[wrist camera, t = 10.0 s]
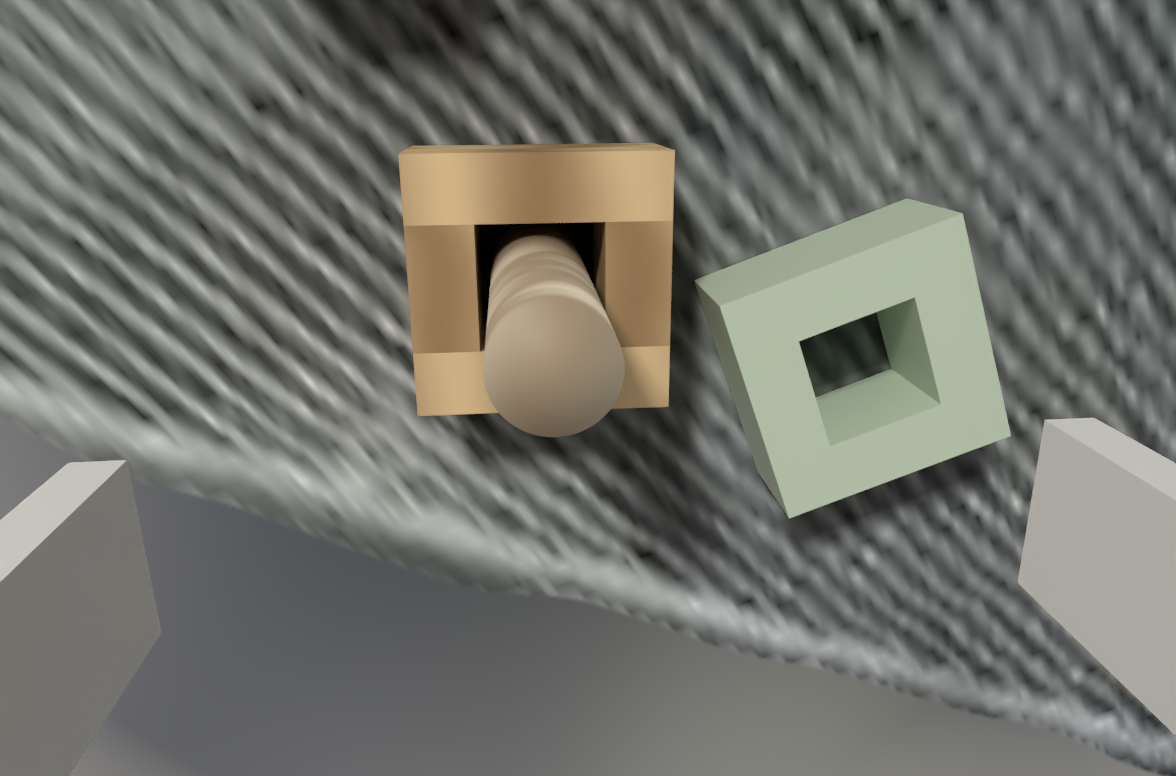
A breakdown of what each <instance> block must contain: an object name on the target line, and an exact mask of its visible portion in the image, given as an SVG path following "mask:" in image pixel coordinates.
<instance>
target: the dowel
mask: <svg viewBox="0 0 1176 776" xmlns="http://www.w3.org/2000/svg"><path fill="white" fill-rule="evenodd" d="M624 373H625V364H624V357H623V352H622V349H621V346H620V343H619V341H618V339H617V336H616V334H615V332H614V330H613V328H612V325H611V323H610V321H609V319H608V316H607V314H606V312H605V310H604V308H603V305H602V303H601V301H600V299H599V297H598V294H597V292H596V290H595V288H594V285H593V283H592V281H591V279H590V277H589V274H588V272H587V270H586V268H585V265H584V263H583V261H582V259H581V257H580V254H579V252H578V250H577V248H576V246H575V244H574V242H573V240H572V239H571V237H570V236H569V235H568V234H567V232H566V231H564V230H563V229H562V228H561V227H559V226H557V225H556V224H553V223H530V224H516V225H514V226H512V227H511V228H509V229H508V230H507V231H506V232H505V233H504V234H503V235H502V236H501V237H500V239H499V240H498V242H497V244H496V246H495V249H494V252H493V258H492V268H491V280H490V292H489V304H488V316H487V328H486V339H485V351H484V363H483V377H484V384H485V388H486V391H487V394H488V396H489V399H490V401H491V402H492V404H493V406H494V407H495V409H496V410H497V411H498V412H499V414H500V415H501V416H502V417H503V418H504V419H505V420H506V421H508V422H509V423H510V424H512V425H513V426H515V427H517V428H518V429H520V430H522V431H525V432H527V433H530V434H533V435H537V436H543V437H563V436H569V435H573V434H576V433H579V432H582V431H584V430H586V429H588V428H590V427H591V426H593V425H594V424H596V423H597V422H599V421H600V420H601V419H602V418H603V417H604V416H605V415H606V414H607V413H608V412H609V411H610V410H611V408H612V407H613V405H614V404H615V402H616V400H617V398H618V396H619V394H620V391H621V389H622V385H623V381H624Z"/></svg>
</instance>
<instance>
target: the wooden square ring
mask: <svg viewBox="0 0 1176 776" xmlns="http://www.w3.org/2000/svg"><path fill="white" fill-rule="evenodd" d="M398 155H399V169H400V182H401V196H402V209H403V223H404V236H405V250H406V263H407V277H408V290H409V304H410V318H411V331H412V345H413V358H414V372H415V385H416V399H417V412H418V416H430V415H458V414H485V413H499V412H498V411H497V410H496V409H495V407H494V406H493V404H492V402H491V401H490V399H489V396H488V394H487V391H486V388H485V384H484V377H483V363H484V351H485V339H486V328H487V320H483V305H482V283H481V262H480V240H479V224H530V223H582V222H593V285H594V288H595V290H596V292H597V294H598V297H599V299H600V301H601V303H602V305H603V308H604V310H605V312H606V314H607V316H608V319H609V321H610V323H611V325H612V328H613V330H614V332H615V334H616V336H617V339H618V341H619V343H620V346H621V349H622V352H623V357H624V364H625V373H624V381H623V385H622V389H621V391H620V394H619V396H618V398H617V400H616V402H615V404H614V405H613V407H612V408H611V409H621V408H649V407H669V366H670V325H671V285H672V244H673V204H674V163H675V150H672V149H669V148H666V147H663V146H660V145H657V144H655V143H611V144H526V145H440V146H411V147H410V148H408V149H406V150H404V151H403V152H401V153H399V154H398Z"/></svg>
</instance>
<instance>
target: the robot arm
mask: <svg viewBox="0 0 1176 776" xmlns="http://www.w3.org/2000/svg"><path fill="white" fill-rule="evenodd" d="M1018 583H1019V584H1020V585H1021V586H1022V587H1023V588H1024V589H1025V590H1026V591H1027V592H1028V593H1029V594H1030V595H1031V596H1032V597H1033V598H1034V599H1035V600H1036V601H1037V602H1038V603H1039V604H1040V605H1041V606H1042V607H1043V608H1044V609H1045V610H1046V611H1047V612H1049V613H1050V614H1051V615H1052V616H1053V617H1054V618H1055V619H1056V620H1057V621H1058V622H1059V623H1060V624H1061V625H1062V626H1063V627H1064V628H1065V629H1066V630H1067V631H1068V632H1069V633H1070V634H1071V635H1072V636H1073V637H1074V638H1075V639H1076V640H1077V641H1078V642H1080V643H1081V644H1082V645H1083V646H1084V647H1085V648H1086V649H1087V650H1088V651H1089V652H1090V653H1091V654H1092V655H1093V656H1094V657H1095V658H1096V659H1097V660H1098V661H1099V662H1100V663H1101V664H1102V665H1103V666H1104V667H1105V668H1106V669H1107V670H1108V671H1110V672H1111V673H1112V674H1113V675H1114V676H1115V677H1116V678H1117V679H1118V680H1119V681H1120V682H1121V683H1122V684H1123V685H1124V686H1125V687H1126V688H1127V689H1128V690H1129V691H1130V692H1131V693H1132V694H1133V695H1134V696H1135V697H1136V698H1137V699H1138V700H1139V701H1141V702H1142V703H1143V704H1144V705H1145V706H1146V707H1147V708H1148V709H1149V710H1150V711H1151V712H1152V713H1153V714H1154V715H1155V716H1156V717H1157V718H1158V719H1159V720H1160V721H1161V722H1162V723H1163V724H1164V725H1165V726H1166V727H1167V728H1168V729H1169V730H1170V731H1172V732H1173V733H1174V734H1175V735H1176V463H1174V462H1172V461H1171V460H1169V459H1167V458H1165V457H1163V456H1162V455H1160V454H1158V453H1156V452H1154V451H1153V450H1151V449H1149V448H1147V447H1145V446H1144V445H1142V444H1140V443H1138V442H1137V441H1135V440H1133V439H1131V438H1129V437H1128V436H1126V435H1124V434H1122V433H1120V432H1119V431H1117V430H1115V429H1113V428H1111V427H1110V426H1108V425H1106V424H1104V423H1103V422H1101V421H1099V420H1097V419H1095V418H1077V419H1054V420H1045V422H1044V428H1043V434H1042V440H1041V446H1040V452H1039V458H1038V464H1037V470H1036V476H1035V482H1034V488H1033V494H1032V499H1031V505H1030V511H1029V517H1028V523H1027V529H1026V535H1025V541H1024V547H1023V553H1022V559H1021V565H1020V571H1019V577H1018ZM160 634H161V629H160V624H159V619H158V615H157V609H156V604H155V599H154V594H153V589H152V584H151V579H150V574H149V569H148V564H147V559H146V554H145V549H144V544H143V539H142V534H141V529H140V524H139V519H138V514H137V509H136V504H135V499H134V494H133V489H132V484H131V479H130V474H129V468H128V463H127V460H120V461H97V462H74V463H68V464H67V465H65V466H64V467H63V468H62V469H61V470H59V471H58V472H57V473H56V474H55V475H53V476H52V477H51V478H50V479H49V480H48V481H46V482H45V483H44V484H43V485H42V486H40V487H39V488H38V489H37V490H36V491H34V492H33V493H32V494H31V495H30V496H28V497H27V498H26V499H25V500H24V501H23V502H21V503H20V504H19V505H18V506H17V507H16V508H14V509H13V510H12V511H11V512H9V513H8V514H7V515H6V516H5V517H4V518H2V519H1V520H0V776H69V775H70V774H71V772H72V770H73V769H74V767H75V766H76V764H77V763H78V761H79V760H80V758H81V756H82V755H83V753H84V752H85V750H86V749H87V747H88V746H89V744H90V742H91V741H92V739H93V738H94V736H95V735H96V733H97V732H98V730H99V728H100V727H101V725H102V723H103V722H104V720H105V719H106V718H107V716H108V714H109V713H110V711H111V710H112V708H113V707H114V705H115V704H116V702H117V701H118V699H119V697H120V696H121V694H122V693H123V691H124V690H125V688H126V686H127V685H128V683H129V682H130V680H131V679H132V677H133V676H134V674H135V673H136V671H137V670H138V668H139V666H140V665H141V663H142V662H143V660H144V659H145V657H146V656H147V654H148V652H149V651H150V649H151V648H152V646H153V644H154V643H155V642H156V640H157V638H158V637H159V635H160Z"/></svg>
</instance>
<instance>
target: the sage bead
mask: <svg viewBox="0 0 1176 776" xmlns="http://www.w3.org/2000/svg"><path fill="white" fill-rule="evenodd" d="M694 283H695V286H696V289H697V292H698V295H699V298H700V301H701V303H702V306H703V309H704V312H705V315H706V318H707V321H708V324H709V327H710V330H711V333H712V336H713V339H714V342H715V345H716V348H717V351H718V354H719V357H720V360H721V363H722V366H723V369H724V372H725V375H726V378H727V381H728V384H729V387H730V390H731V393H732V396H733V399H734V402H735V405H736V408H737V411H738V414H739V417H740V420H741V423H742V426H743V429H744V432H745V435H746V438H747V441H748V444H749V447H750V450H751V453H752V456H753V459H754V462H755V465H756V468H757V471H758V473H759V474H760V476H761V477H762V479H763V480H764V482H765V483H766V485H767V486H768V488H769V489H770V491H771V492H772V494H773V495H774V497H775V498H776V500H777V501H778V503H779V504H780V506H781V507H782V509H783V510H784V512H785V513H786V515H787V516H788V518H792V517H795V516H797V515H800V514H803V513H805V512H808V511H811V510H813V509H816V508H819V507H821V506H824V505H827V504H829V503H832V502H835V501H837V500H840V499H843V498H846V497H848V496H851V495H854V494H856V493H859V492H862V491H864V490H867V489H870V488H872V487H875V486H878V485H880V484H883V483H886V482H888V481H891V480H894V479H896V478H899V477H902V476H904V475H907V474H910V473H913V472H915V471H918V470H921V469H923V468H926V467H929V466H931V465H934V464H937V463H939V462H942V461H945V460H947V459H950V458H953V457H955V456H958V455H961V454H963V453H966V452H969V451H971V450H974V449H977V448H980V447H982V446H985V445H988V444H990V443H993V442H996V441H998V440H1001V439H1004V438H1006V437H1009V436H1011V434H1010V429H1009V425H1008V420H1007V415H1006V411H1005V406H1004V402H1003V397H1002V392H1001V388H1000V383H999V379H998V374H997V369H996V365H995V360H994V356H993V351H992V346H991V342H990V337H989V333H988V328H987V323H986V319H985V314H984V310H983V305H982V300H981V296H980V291H979V287H978V282H977V277H976V273H975V268H974V264H973V259H972V254H971V250H970V245H969V241H968V236H967V231H966V227H965V222H964V217H963V213H960V212H956V211H952V210H948V209H945V208H941V207H937V206H933V205H929V204H926V203H922V202H918V201H914V200H911V199H907V198H906V199H904V200H901V201H899V202H896V203H893V204H891V205H888V206H886V207H883V208H880V209H878V210H875V211H873V212H870V213H867V214H865V215H862V216H860V217H857V218H854V219H852V220H849V221H847V222H844V223H841V224H839V225H836V226H834V227H831V228H828V229H826V230H823V231H821V232H818V233H815V234H813V235H810V236H808V237H805V238H802V239H800V240H797V241H795V242H792V243H789V244H787V245H784V246H782V247H779V248H776V249H774V250H771V251H769V252H766V253H763V254H761V255H758V256H755V257H753V258H750V259H748V260H745V261H742V262H740V263H737V264H735V265H732V266H729V267H727V268H724V269H722V270H719V271H716V272H714V273H711V274H709V275H706V276H703V277H701V278H698V279H696V280H694ZM875 312H876V313H877V317H878V321H879V325H880V329H881V332H882V336H883V340H884V344H885V348H886V352H887V355H888V359H889V363H890V367H891V369H889V370H886V371H884V372H881V373H878V374H876V375H873V376H870V377H868V378H865V379H863V380H860V381H857V382H855V383H852V384H849V385H847V386H844V387H841V388H839V389H836V390H833V391H831V392H828V393H825V394H823V395H820V396H818V397H815V394H814V391H813V387H812V384H811V381H810V377H809V374H808V371H807V367H806V364H805V360H804V357H803V354H802V350H801V347H800V344H799V341H801V340H804V339H807V338H809V337H812V336H815V335H817V334H820V333H822V332H825V331H828V330H830V329H833V328H836V327H838V326H841V325H843V324H846V323H849V322H851V321H854V320H857V319H859V318H862V317H864V316H867V315H870V314H872V313H875Z"/></svg>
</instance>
